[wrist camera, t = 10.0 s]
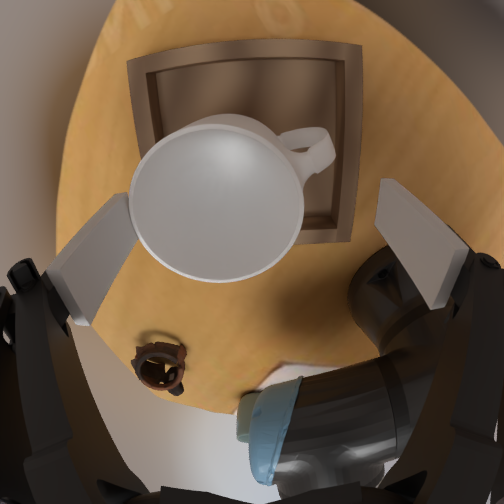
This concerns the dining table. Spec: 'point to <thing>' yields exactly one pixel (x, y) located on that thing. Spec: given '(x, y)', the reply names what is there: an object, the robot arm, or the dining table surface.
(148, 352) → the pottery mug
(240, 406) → the cup
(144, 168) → the mug
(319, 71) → the tray
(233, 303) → the dining table surface
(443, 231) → the robot arm
